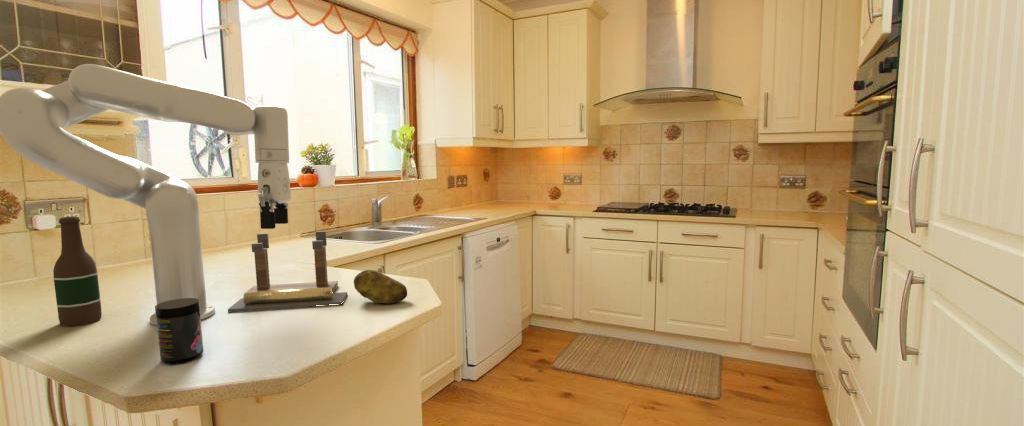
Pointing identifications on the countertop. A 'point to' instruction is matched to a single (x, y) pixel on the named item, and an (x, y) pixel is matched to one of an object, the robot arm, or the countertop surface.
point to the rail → (287, 295)
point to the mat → (287, 304)
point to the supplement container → (179, 330)
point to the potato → (379, 287)
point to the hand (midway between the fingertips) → (275, 225)
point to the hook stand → (321, 282)
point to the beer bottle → (75, 278)
